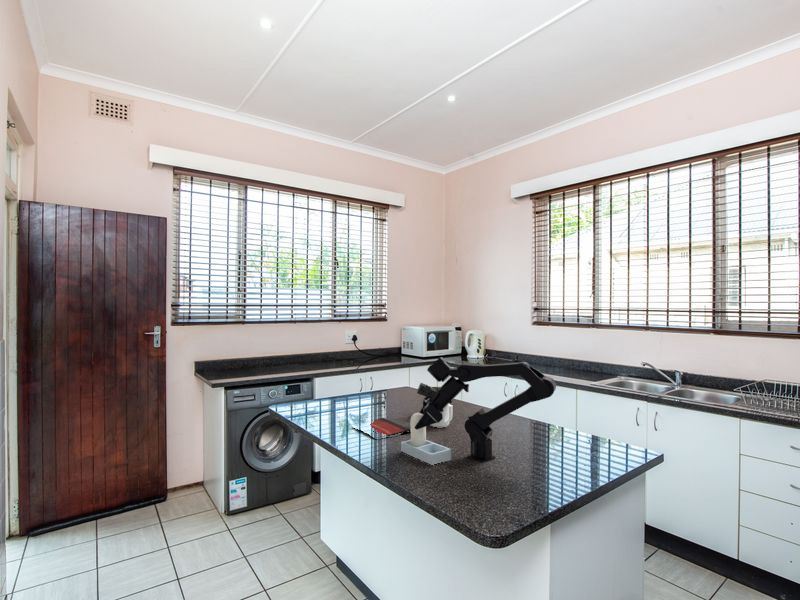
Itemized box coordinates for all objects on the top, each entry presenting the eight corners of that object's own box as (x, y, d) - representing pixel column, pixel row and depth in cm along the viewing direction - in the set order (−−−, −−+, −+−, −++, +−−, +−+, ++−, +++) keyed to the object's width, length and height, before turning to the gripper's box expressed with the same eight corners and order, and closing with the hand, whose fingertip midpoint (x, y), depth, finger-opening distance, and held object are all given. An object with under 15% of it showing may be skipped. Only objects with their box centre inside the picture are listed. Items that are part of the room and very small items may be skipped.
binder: (383, 417, 185) (411, 428, 168) (383, 422, 185) (411, 434, 168) (350, 424, 176) (376, 437, 159) (350, 430, 176) (376, 443, 159)
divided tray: (451, 459, 139) (451, 449, 139) (431, 465, 134) (431, 454, 134) (419, 447, 151) (419, 437, 151) (401, 452, 146) (401, 442, 146)
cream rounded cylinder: (429, 450, 145) (428, 413, 145) (417, 453, 142) (417, 415, 142) (419, 446, 149) (419, 410, 149) (407, 449, 146) (407, 412, 146)
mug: (423, 425, 179) (423, 398, 179) (438, 421, 185) (438, 395, 185) (444, 431, 170) (444, 403, 170) (459, 427, 176) (459, 400, 176)
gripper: (429, 371, 155) (399, 401, 155) (431, 380, 136) (397, 414, 136) (451, 393, 154) (421, 423, 155) (457, 405, 136) (422, 439, 136)
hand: (415, 424), depth 145 cm, fingers open, 9 cm apart
